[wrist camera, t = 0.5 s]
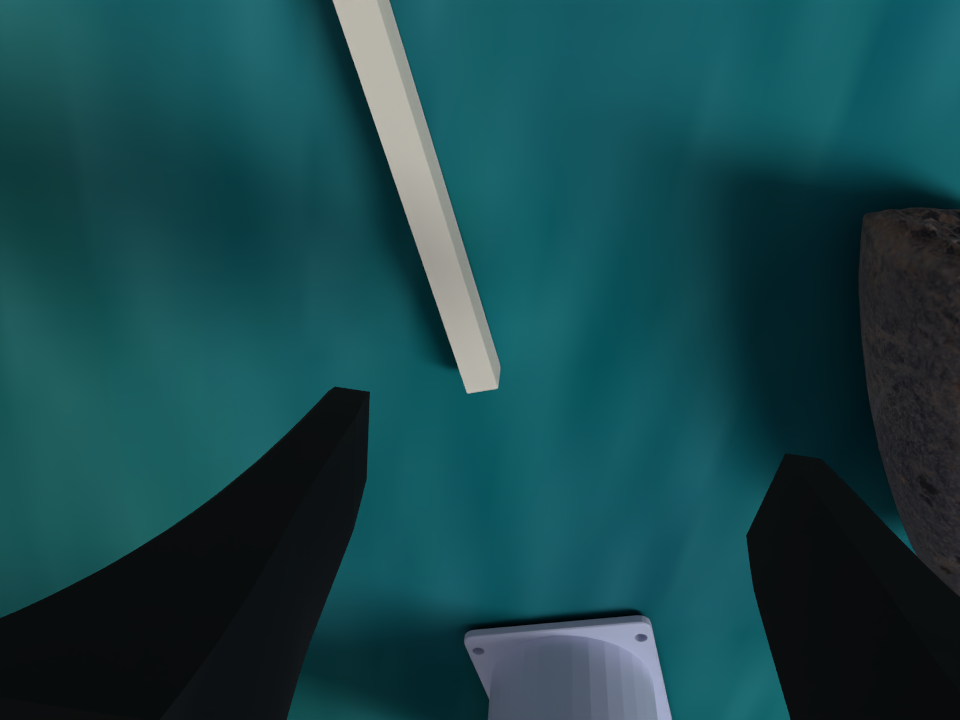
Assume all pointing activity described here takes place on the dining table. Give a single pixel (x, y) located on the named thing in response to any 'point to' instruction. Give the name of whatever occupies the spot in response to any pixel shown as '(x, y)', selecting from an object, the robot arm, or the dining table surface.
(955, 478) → the perforated stone tool
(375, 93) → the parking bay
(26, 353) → the dining table surface
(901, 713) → the robot arm
